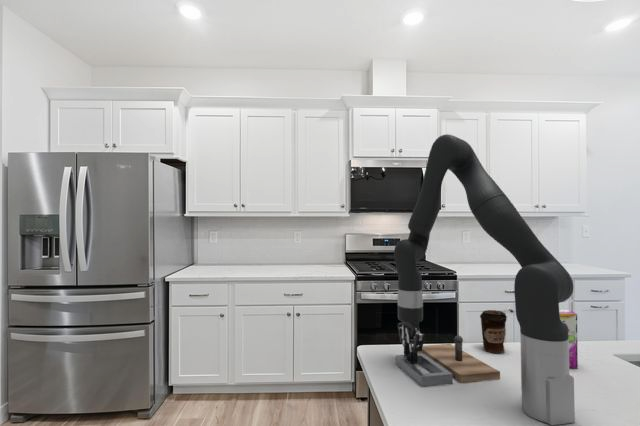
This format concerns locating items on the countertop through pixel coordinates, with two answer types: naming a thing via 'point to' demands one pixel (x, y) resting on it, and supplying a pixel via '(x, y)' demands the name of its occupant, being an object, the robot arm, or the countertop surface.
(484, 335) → the coffee cup
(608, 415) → the countertop surface
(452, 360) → the board
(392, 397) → the countertop surface
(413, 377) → the grey picture frame
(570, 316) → the candy bar box
